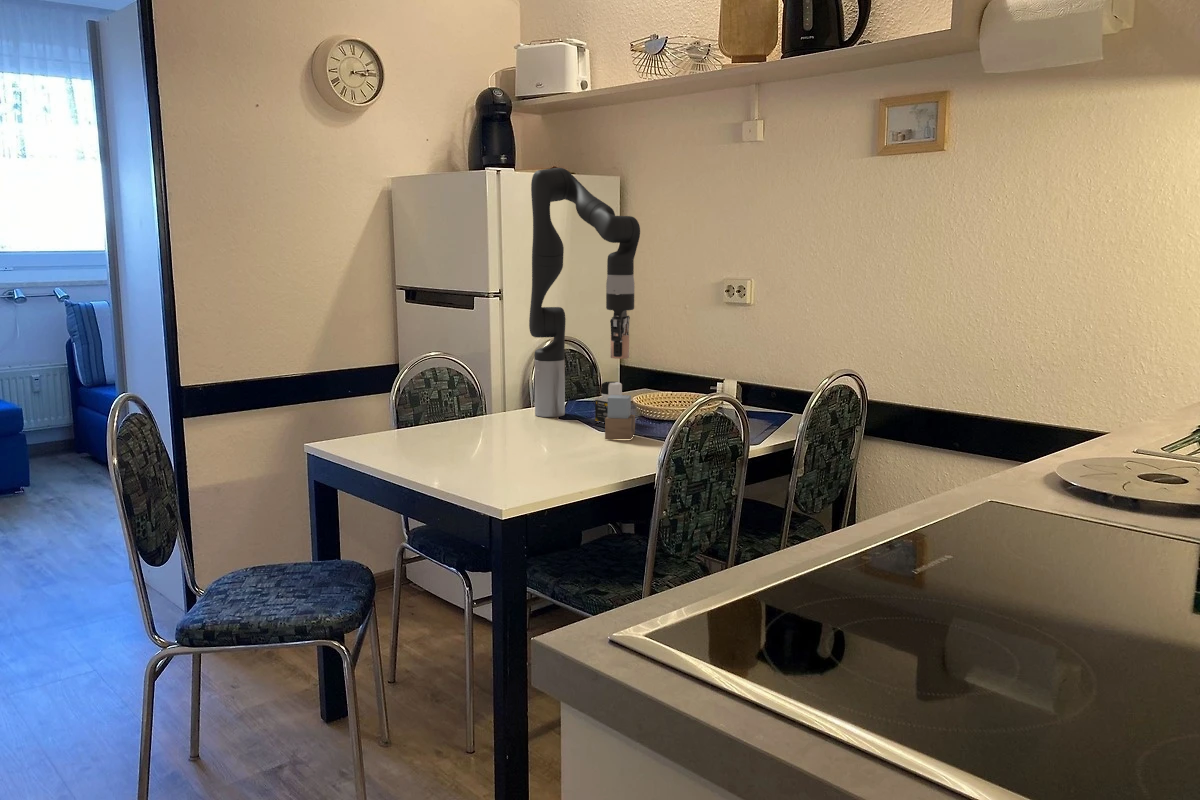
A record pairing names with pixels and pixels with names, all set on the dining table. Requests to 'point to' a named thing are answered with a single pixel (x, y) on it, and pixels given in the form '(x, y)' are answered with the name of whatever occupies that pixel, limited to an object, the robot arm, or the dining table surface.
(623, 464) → the dining table surface
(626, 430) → the walnut block
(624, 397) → the grey block
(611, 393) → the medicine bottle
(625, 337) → the terracotta cylinder
